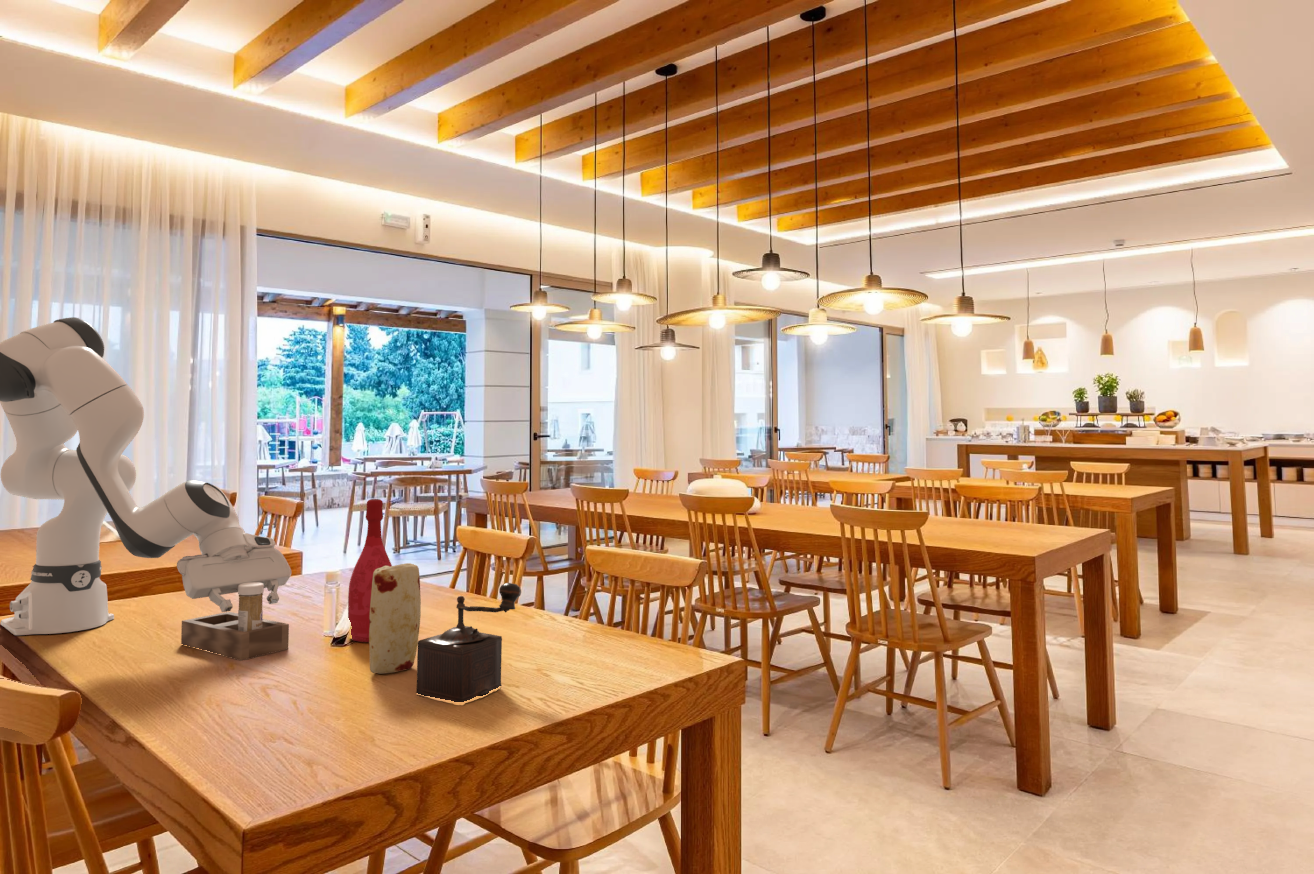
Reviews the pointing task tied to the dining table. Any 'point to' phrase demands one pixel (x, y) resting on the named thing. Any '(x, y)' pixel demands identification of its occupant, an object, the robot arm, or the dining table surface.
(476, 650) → the coffee grinder
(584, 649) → the dining table surface
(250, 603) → the sprinkles bottle
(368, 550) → the wine bottle
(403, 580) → the food model
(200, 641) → the rail
